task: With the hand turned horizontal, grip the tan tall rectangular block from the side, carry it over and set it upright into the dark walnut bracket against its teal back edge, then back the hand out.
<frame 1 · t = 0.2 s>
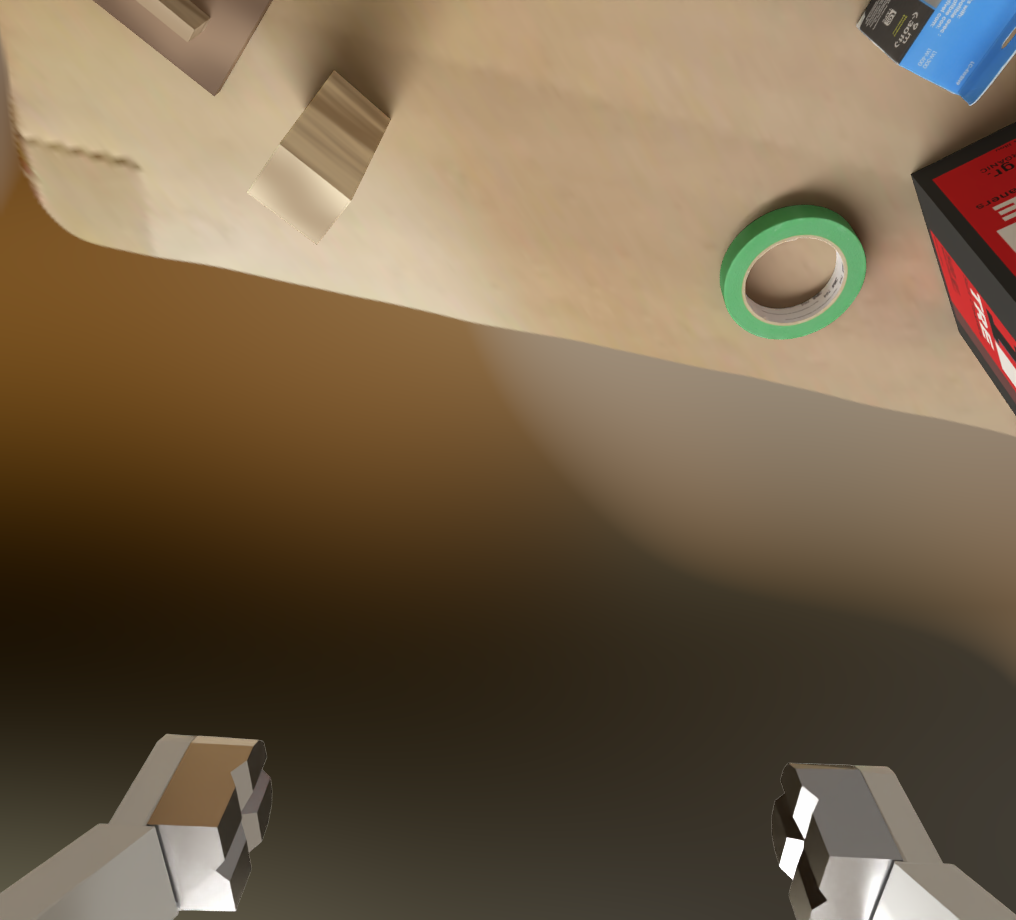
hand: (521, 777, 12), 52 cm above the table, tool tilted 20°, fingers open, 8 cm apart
tan tall rectangular block: (348, 116, 55), on the table
tape roll: (786, 265, 62), on the table
cleaning product box: (995, 230, 59), on the table
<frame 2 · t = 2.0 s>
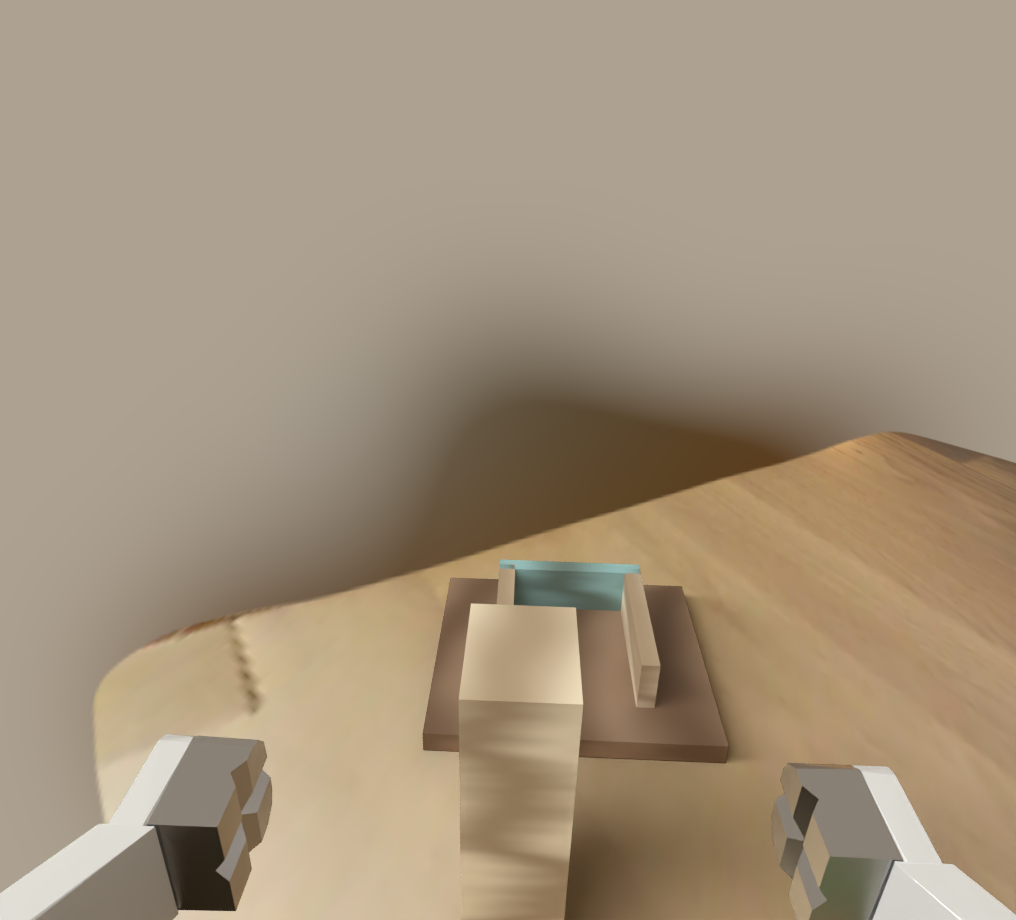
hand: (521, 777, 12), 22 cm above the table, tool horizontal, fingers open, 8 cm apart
tan tall rectangular block: (512, 901, 32), on the table
dock: (568, 665, 46), on the table
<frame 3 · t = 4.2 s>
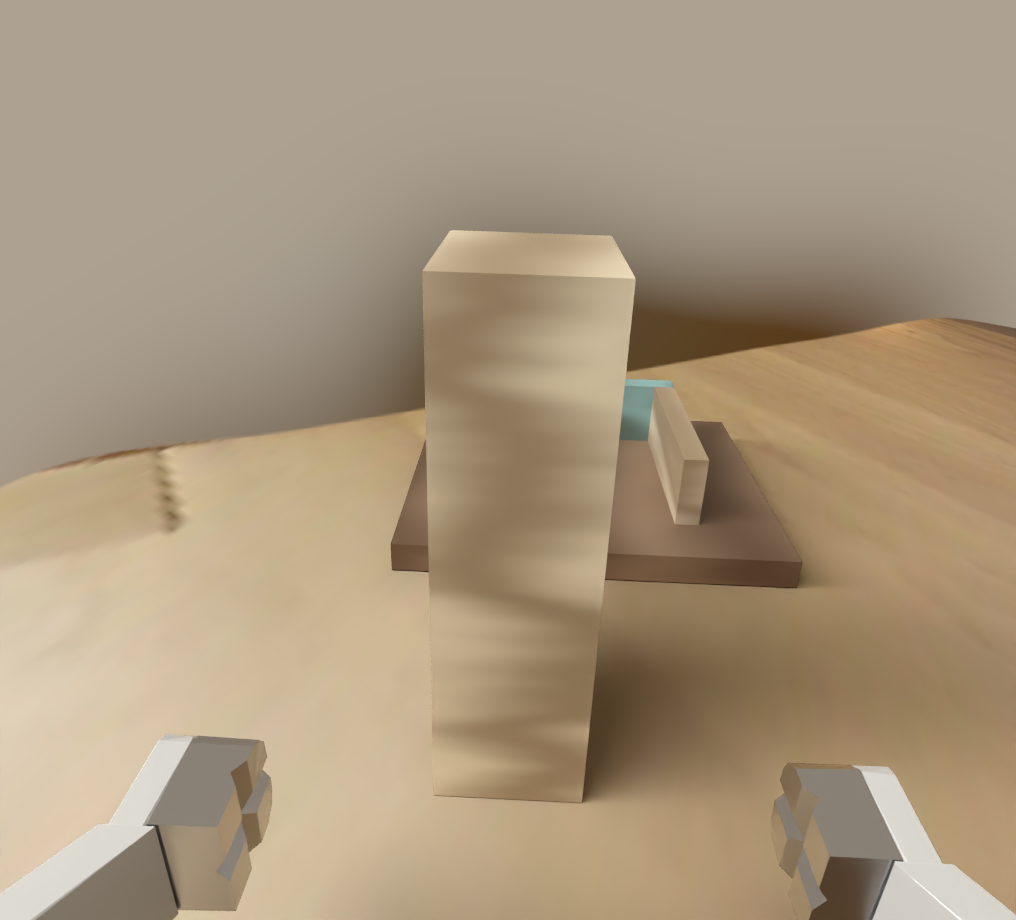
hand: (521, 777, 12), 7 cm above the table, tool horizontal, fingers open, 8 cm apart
tan tall rectangular block: (510, 728, 22), on the table
dock: (583, 494, 36), on the table
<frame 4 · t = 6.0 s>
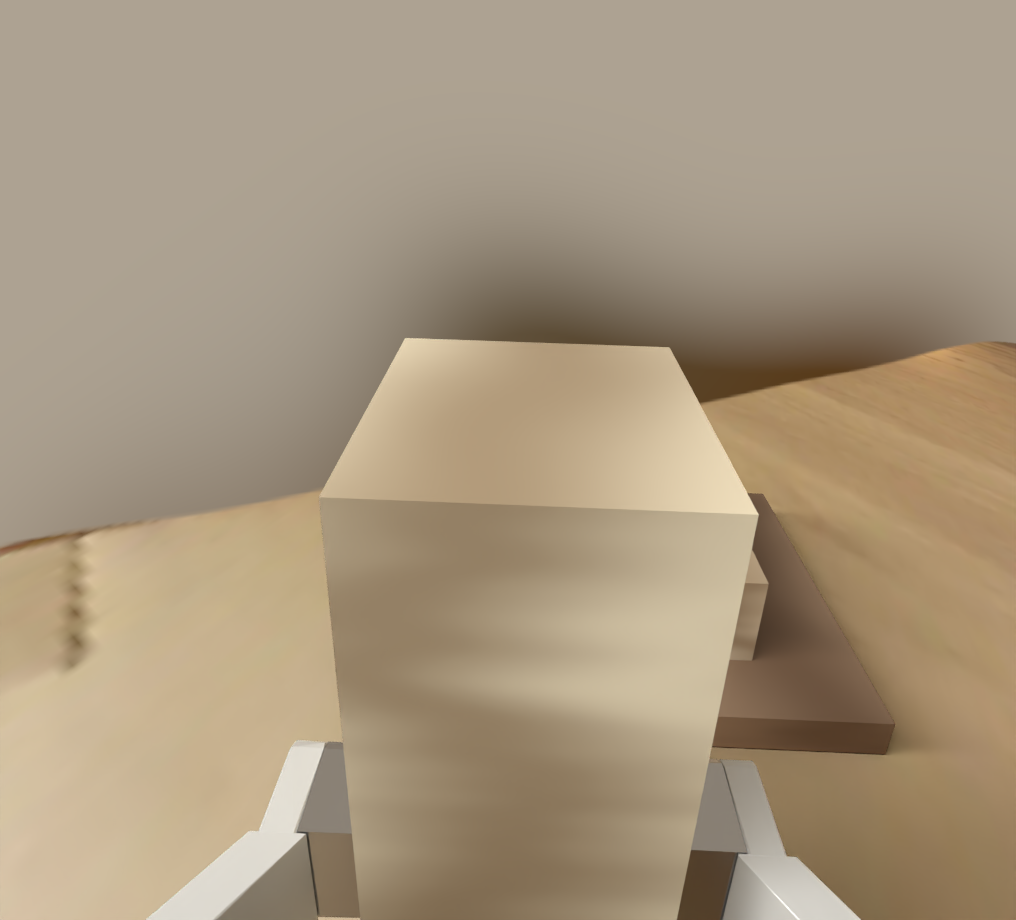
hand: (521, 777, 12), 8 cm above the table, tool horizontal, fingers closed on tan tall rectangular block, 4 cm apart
dock: (598, 600, 29), on the table
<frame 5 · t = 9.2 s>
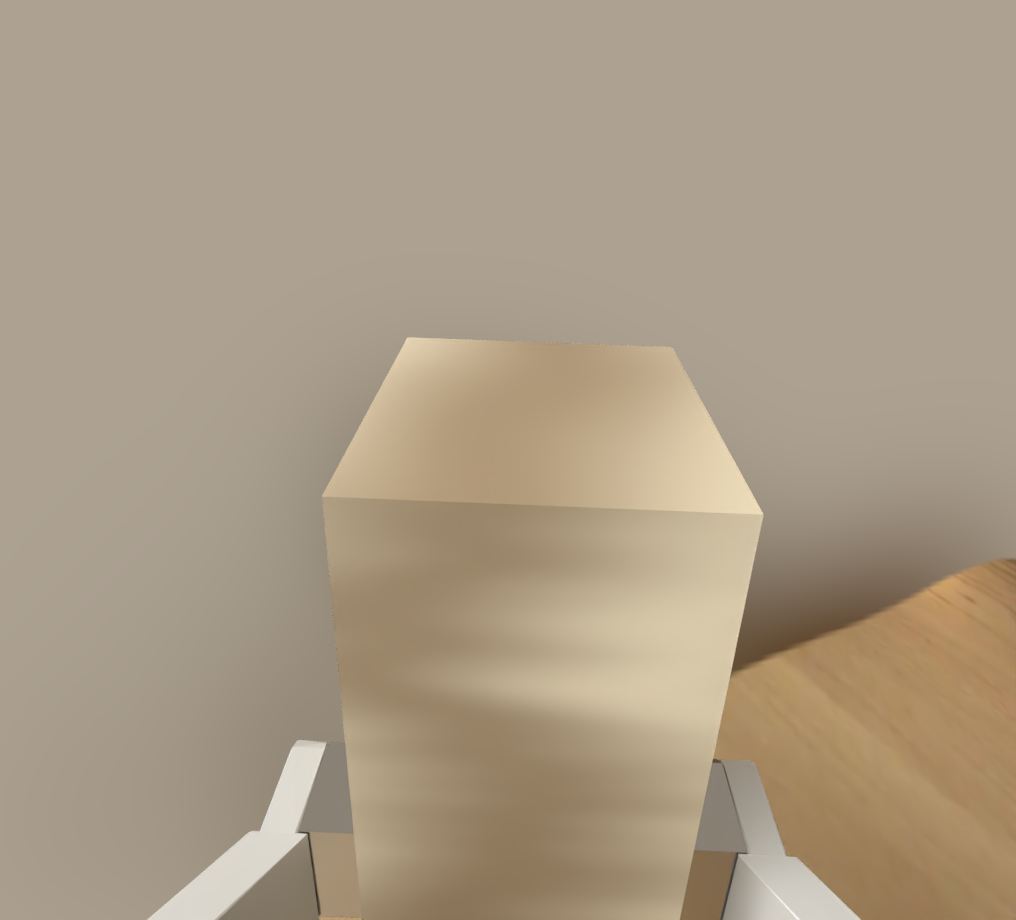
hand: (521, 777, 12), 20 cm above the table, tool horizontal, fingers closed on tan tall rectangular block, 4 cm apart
when the fingers open (10 cm above the table, at t = 12.0 s): tan tall rectangular block drops 1 cm, resting on dock.
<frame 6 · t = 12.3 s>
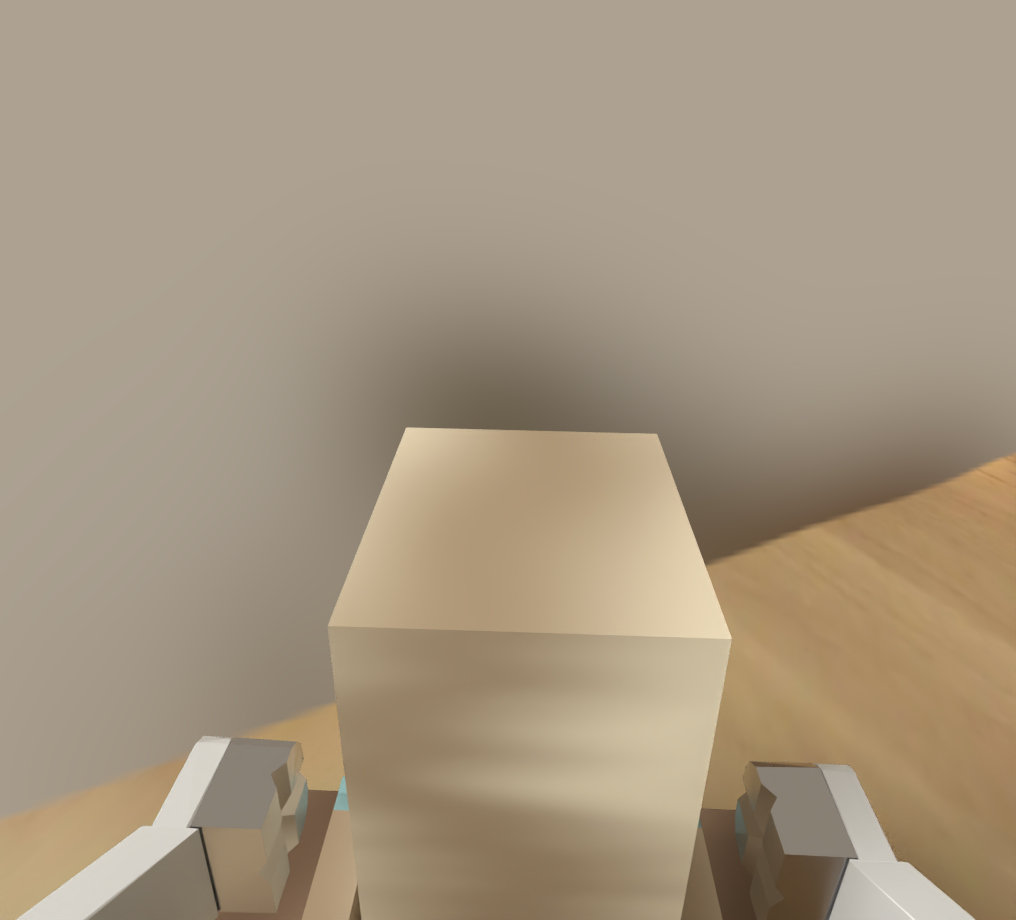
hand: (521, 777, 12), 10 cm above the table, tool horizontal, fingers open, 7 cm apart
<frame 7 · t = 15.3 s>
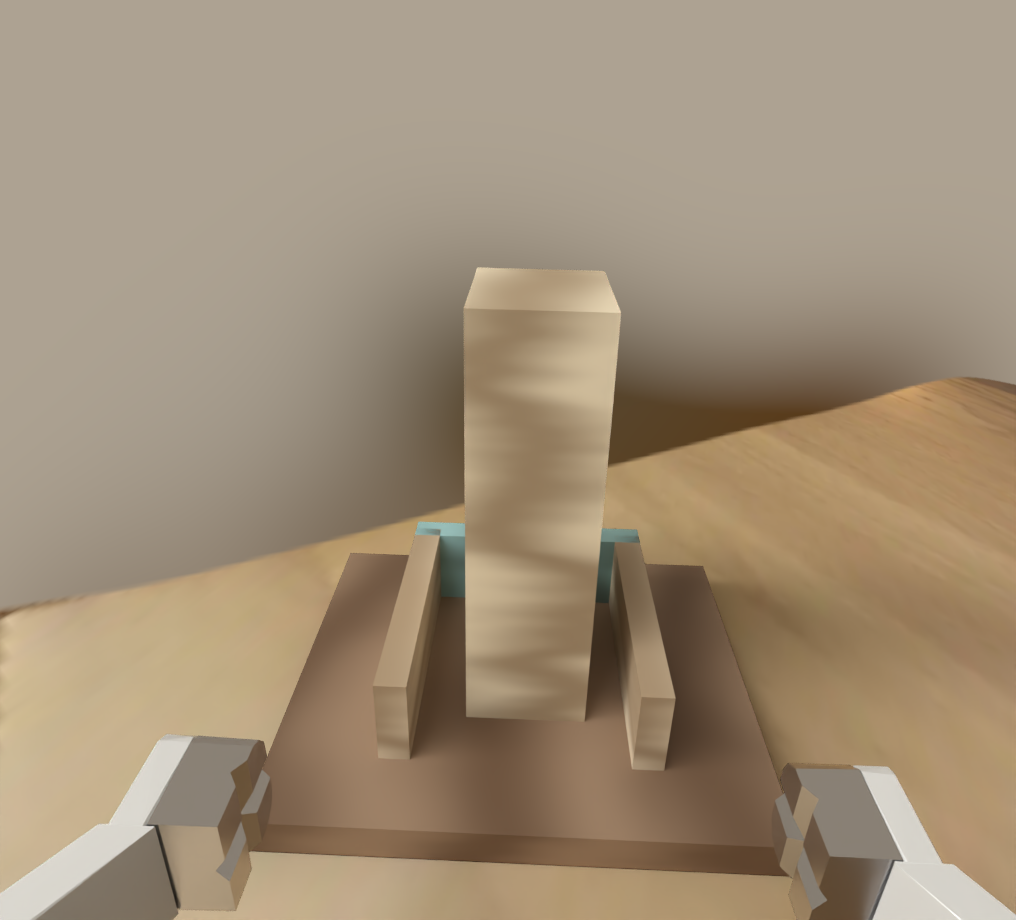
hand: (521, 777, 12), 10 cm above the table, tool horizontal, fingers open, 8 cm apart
tan tall rectangular block: (526, 668, 27), point 1 cm above the table, touching dock
dock: (522, 690, 28), on the table
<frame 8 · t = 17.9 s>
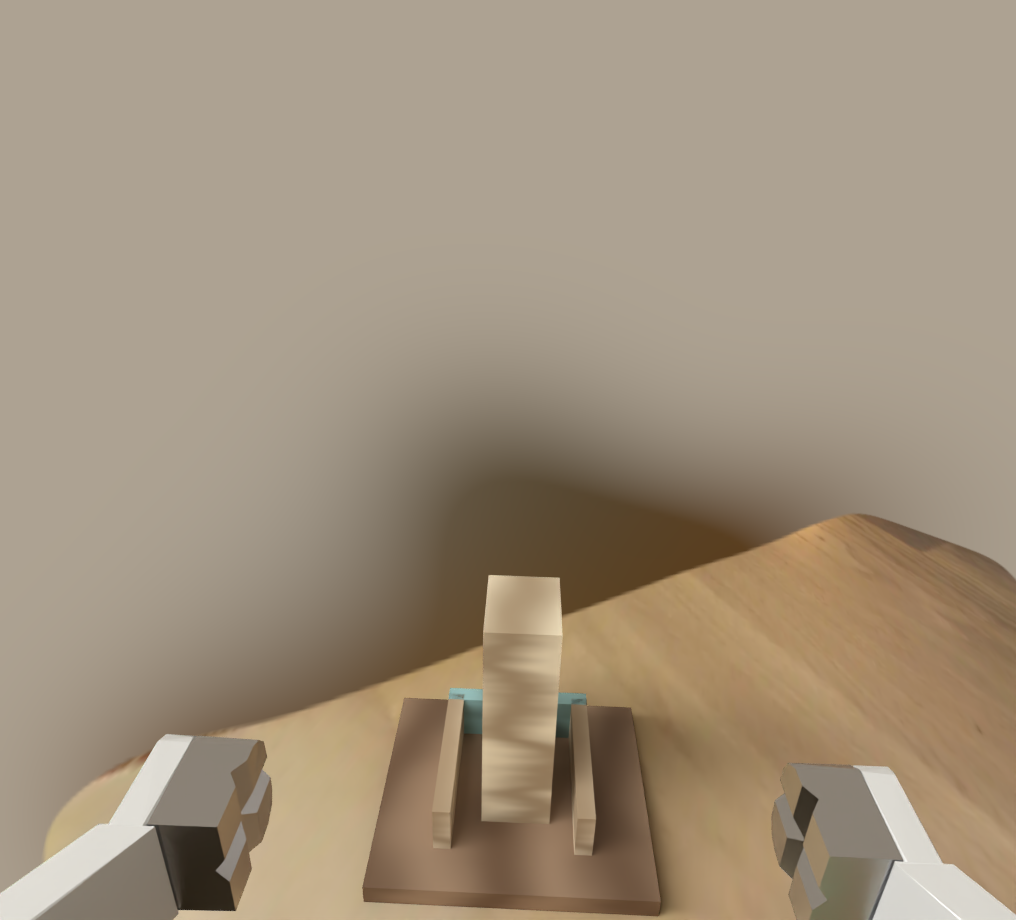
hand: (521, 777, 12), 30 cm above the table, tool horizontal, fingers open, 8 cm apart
tan tall rectangular block: (516, 787, 46), point 1 cm above the table, touching dock
dock: (514, 799, 46), on the table
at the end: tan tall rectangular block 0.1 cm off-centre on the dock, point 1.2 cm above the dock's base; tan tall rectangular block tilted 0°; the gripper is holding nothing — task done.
